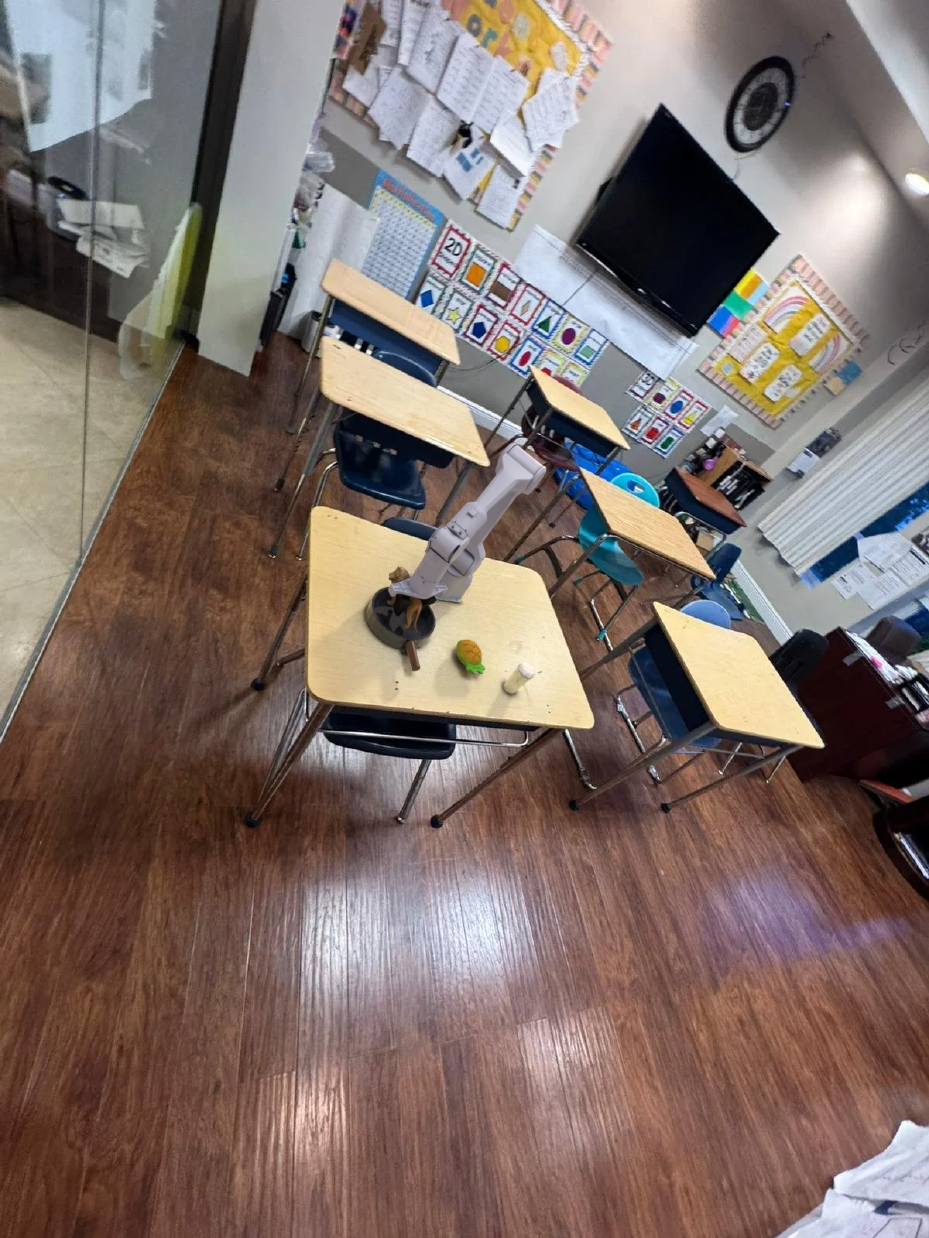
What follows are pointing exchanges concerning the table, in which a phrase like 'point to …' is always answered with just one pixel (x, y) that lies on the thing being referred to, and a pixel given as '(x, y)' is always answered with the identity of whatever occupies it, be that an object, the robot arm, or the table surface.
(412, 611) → the lion figurine
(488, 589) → the table surface
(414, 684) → the table surface
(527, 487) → the robot arm
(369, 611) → the pan
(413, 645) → the pan handle
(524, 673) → the milkshake
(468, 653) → the toy pineapple
